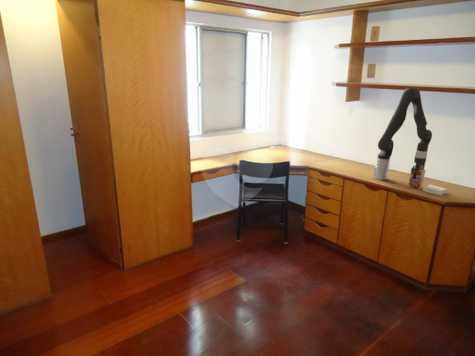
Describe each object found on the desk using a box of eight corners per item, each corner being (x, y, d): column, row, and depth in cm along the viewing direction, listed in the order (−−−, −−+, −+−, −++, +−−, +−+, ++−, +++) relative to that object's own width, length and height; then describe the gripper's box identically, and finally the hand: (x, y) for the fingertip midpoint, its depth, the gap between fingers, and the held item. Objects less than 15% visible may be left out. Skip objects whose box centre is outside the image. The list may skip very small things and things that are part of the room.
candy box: (407, 186, 261) (411, 167, 256) (410, 185, 263) (414, 166, 259) (418, 189, 254) (422, 170, 249) (422, 189, 256) (425, 169, 252)
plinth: (422, 190, 252) (423, 186, 251) (429, 188, 258) (429, 184, 257) (440, 195, 243) (441, 191, 242) (445, 192, 249) (446, 188, 248)
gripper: (420, 154, 259) (416, 175, 263) (411, 156, 250) (407, 178, 255) (430, 156, 253) (426, 177, 258) (421, 159, 244) (417, 180, 249)
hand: (416, 177), depth 256 cm, fingers open, 7 cm apart
